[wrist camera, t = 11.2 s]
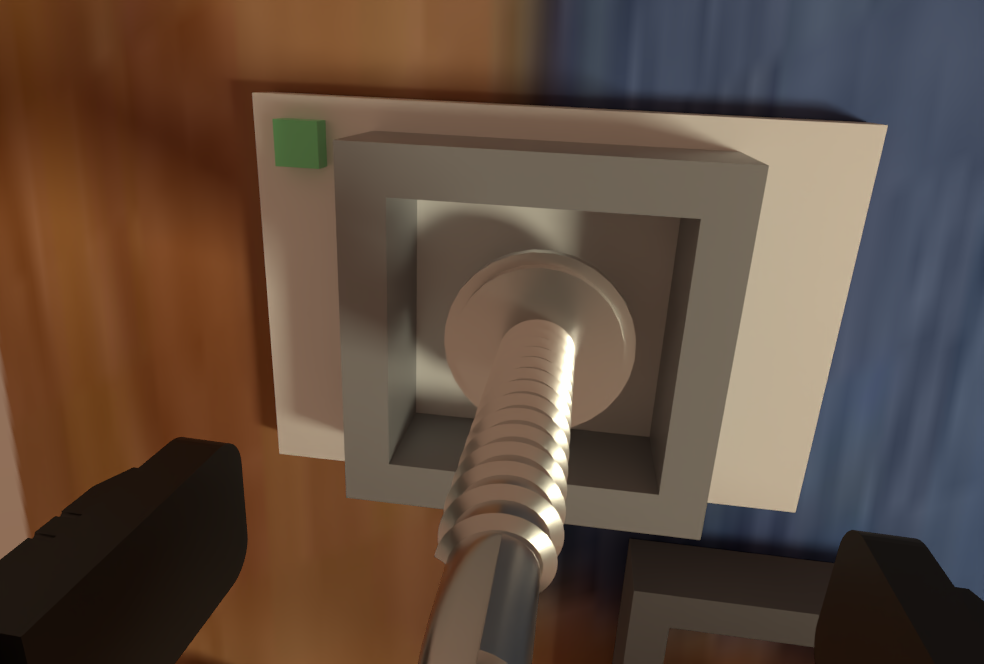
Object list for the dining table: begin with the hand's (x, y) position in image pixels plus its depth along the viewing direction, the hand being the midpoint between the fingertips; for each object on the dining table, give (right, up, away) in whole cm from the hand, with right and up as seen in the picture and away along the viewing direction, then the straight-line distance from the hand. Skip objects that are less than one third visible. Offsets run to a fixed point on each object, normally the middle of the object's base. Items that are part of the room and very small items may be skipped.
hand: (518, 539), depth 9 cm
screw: (+1, +3, +10) cm, 11 cm away
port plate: (+1, +4, +11) cm, 12 cm away
